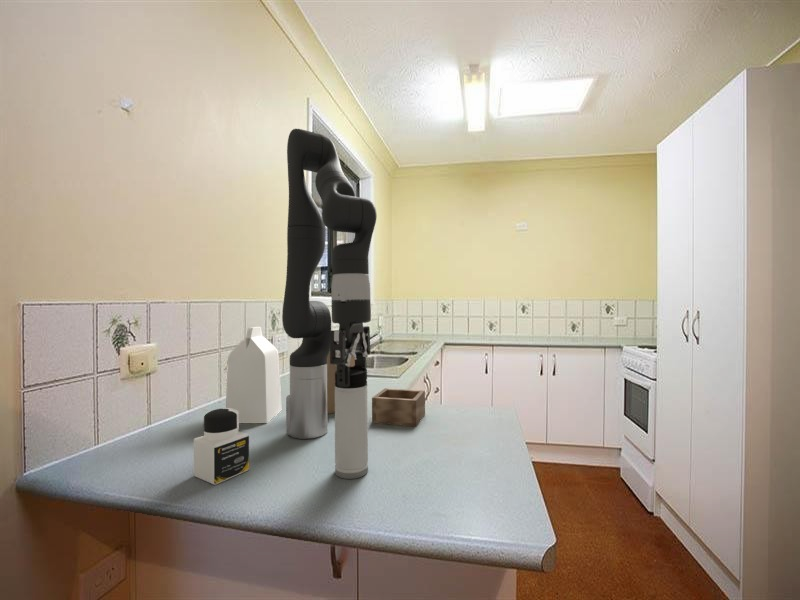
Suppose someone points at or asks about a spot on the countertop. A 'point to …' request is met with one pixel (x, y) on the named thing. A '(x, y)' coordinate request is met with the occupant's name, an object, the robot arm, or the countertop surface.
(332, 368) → the wooden block
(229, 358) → the milk
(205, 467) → the medicine bottle
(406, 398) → the open wooden box
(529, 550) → the countertop surface
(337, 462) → the travel mug
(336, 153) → the robot arm
